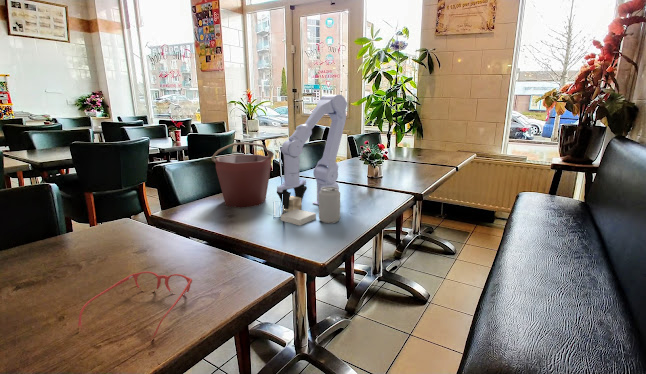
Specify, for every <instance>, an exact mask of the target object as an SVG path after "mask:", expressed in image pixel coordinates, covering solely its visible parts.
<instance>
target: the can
mask: <svg viewBox="0 0 646 374" xmlns="http://www.w3.org/2000/svg"><path fill="white" fill-rule="evenodd" d="M338 190H339V191H338ZM340 219H341V192H340V188H339V189H338V188H336V187H323V188H321V191H320V192H319V205H318V220H320V221H321V223H323V224H335V223H338V221H339V220H340Z"/></svg>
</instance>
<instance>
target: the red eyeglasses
mask: <svg viewBox="0 0 646 374" xmlns="http://www.w3.org/2000/svg"><path fill="white" fill-rule="evenodd" d="M142 274H151V275H154V276H155V277H156V280H157V282H156V289H158V290H159V288H160V286H161V282H162V281H161V279H164V285H165V287H166V289H167V290H168V291H169V292H170V290H171V291H172V289H171V288H170V286H169V280H170V279H171V277H176V276H177V277H182V278H184V279H185V280H186V282H187V284H186V285H185V288H184V289H183V290H182V292H181V294H180V295H179V296H178V298H177V299H176V300H175V302H174V303H173V304H172V306H171V307H170V308H169V310H167V311H166V313H165V314H164V315H163V317H162V318H161V320H160V321H159V323H158V325H157V328H156V330H155V331H154V333H153V336H152V338H153V337H154V336H155V335H156V336H157V333H158V330H159V328H160V326H161V325H162V322H163V321H164V320H165V318H166V316H167V315H168V314H170V312H171V310H173V309H174V307H176V304H178V302H179V301H180V300H181V298H182V297H184V296H183V294H185V293H186V292H188V293H189V291H190V289H191V284H192V283H193V278H190V277H188V276H186V275H184V274H180V273H179V274H178V273H173V274H170V275H165V274H161V275H158V273H156V272H153V271H140V272H137V273H131V274H130V275H128V276H126V277H125V278H122V279H121V280H119V281H118V282H116V283H114V284H113V285H112V286H110V287H108V288H107V289H105V290H104V291H102V292H100V293H99V294H96V295H95V296H94V297H92V298H90V299H89V300H88V301H87V302H86V303H85V304H84V305H83V306H82V308H81V309H80V312H79V315H78V324H77V325H78V326H77V328H78V327H79V326H81V327H82V316H83V312H84V310H85V309H86V307H87V306H88V305H89V304H90V303H91V302H93V301H94V300H97V299H98V298H99V297H101V296H102V295H104V294H105V293H107V292H109V291H111V290H113V289H114V288H116V287H118V286H120V285H122V284H124V283H125V282H127V281H129V280H131V279H132V278H133V279H134V282H135V283H134V284H135V285H136V287H137V289H138V288H139V287H140V285H139V283H138V277H139V276H140V275H142ZM156 289H155V290H156ZM156 336H155V337H156Z"/></svg>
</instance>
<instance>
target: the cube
mask: <svg viewBox="0 0 646 374" xmlns="http://www.w3.org/2000/svg"><path fill="white" fill-rule="evenodd" d="M302 202H303V201H302ZM302 202H301V198H300V197H296V196H294V195H290V198H289V208H288V209H285V210H286V211H285V212H287V211H288V212H290V211H293V210H295V209H300V210H303V209H302V207H303V205H302Z"/></svg>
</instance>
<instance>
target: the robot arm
mask: <svg viewBox="0 0 646 374" xmlns="http://www.w3.org/2000/svg"><path fill="white" fill-rule="evenodd" d="M347 106H348V102H347V100H346V98H345V97H344V96H343V95H342V94H341V93H339V94H338V93H337V94H323V95H322V96H321V97H320V99H318V101H317V103H316V106H315V108H314V109H313V111H312V112H311V114H310V115H309V116H308V118H307V119H306V121H305V122H304V123H301V124H299V125H297V126H296V127H295V130H294V132H293V133H292V134H291V135H290V136H289V137H288V139H287V140H285V141H284V142H283V143H282V144H281V147H280V151H281V153H282V155H283V171H284V173H283V176H284V181H282V183H281V184H280V185H278V186H277V187H276V194H277V195H278V197H279V200H280V202H281V203H282V194H283V205H284V209H288V208H289V198H290V196H291V194H292V192H290V191H288V190H292V189H293V190H294V195H295V196H296V197H300V198H301V202H303V199H304V196H305V193H306V191H307V190H308V187H307V186H306V185H307V181H306V180H305V179H300V156H301V154H302V152H303V147H304V146H305V144H306V142H307V141H308V140H309V139H310V137H311V135H312V134H313V129H314V127H315V126H316V125H317V124H318V122H319V121H320V120H322V118H323V117H324V115H328V116H329V118H330V120H331V122H330V127H329V130H328V134H327V137H326V138H327V139H326V141H325V147H324V149H323V154H322V157H321V159H319V160H318V161H317V164H316V166H315V167H314V169H313V172H312V173H313V177H314V179H315V181H316V201H312V204H313V205H318V206H319V192H320V191H321V188H323V187H336V188H338V189H339V190H338V191H339V192H340V186H339V184H338V182H337V181H338V178H339V165H338V163H337V162H336V161H337V157H338V152H339V148H340V146H341V141H342V136H343V133H344V129H345V124H346V120H347ZM283 205H282V206H283ZM284 209H283V210H284Z"/></svg>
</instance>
